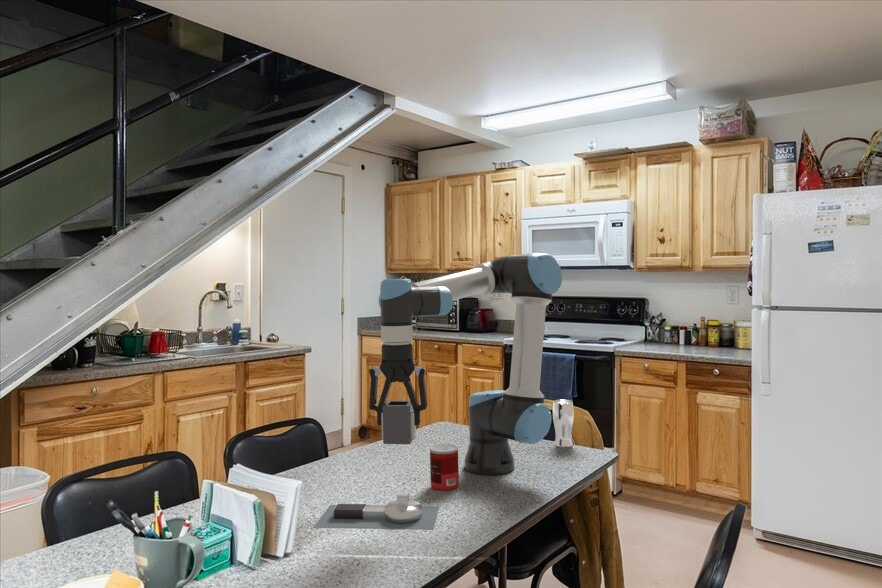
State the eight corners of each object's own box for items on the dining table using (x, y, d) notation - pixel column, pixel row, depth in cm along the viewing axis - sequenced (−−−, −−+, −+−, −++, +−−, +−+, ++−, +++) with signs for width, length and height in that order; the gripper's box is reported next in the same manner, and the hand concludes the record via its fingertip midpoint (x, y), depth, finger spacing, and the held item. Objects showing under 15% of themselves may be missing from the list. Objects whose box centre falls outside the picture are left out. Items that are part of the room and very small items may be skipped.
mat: (439, 507, 148) (439, 506, 148) (433, 531, 134) (433, 529, 134) (330, 506, 151) (330, 504, 151) (313, 529, 137) (313, 527, 137)
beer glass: (576, 447, 199) (575, 403, 199) (555, 448, 199) (554, 403, 199) (571, 442, 206) (571, 399, 206) (551, 442, 206) (550, 399, 206)
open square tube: (414, 437, 145) (413, 400, 145) (410, 444, 139) (409, 406, 139) (388, 437, 146) (387, 400, 146) (383, 444, 140) (382, 406, 140)
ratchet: (424, 509, 146) (423, 487, 146) (419, 524, 137) (419, 500, 137) (339, 508, 148) (338, 486, 148) (328, 523, 139) (328, 499, 139)
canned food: (462, 483, 166) (461, 444, 166) (453, 493, 158) (452, 452, 158) (436, 481, 168) (435, 443, 168) (426, 491, 161) (425, 450, 161)
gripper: (438, 341, 145) (440, 435, 145) (361, 341, 147) (363, 434, 147) (435, 344, 137) (437, 443, 138) (353, 345, 139) (355, 442, 140)
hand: (399, 438), depth 142 cm, fingers closed on open square tube, 6 cm apart
